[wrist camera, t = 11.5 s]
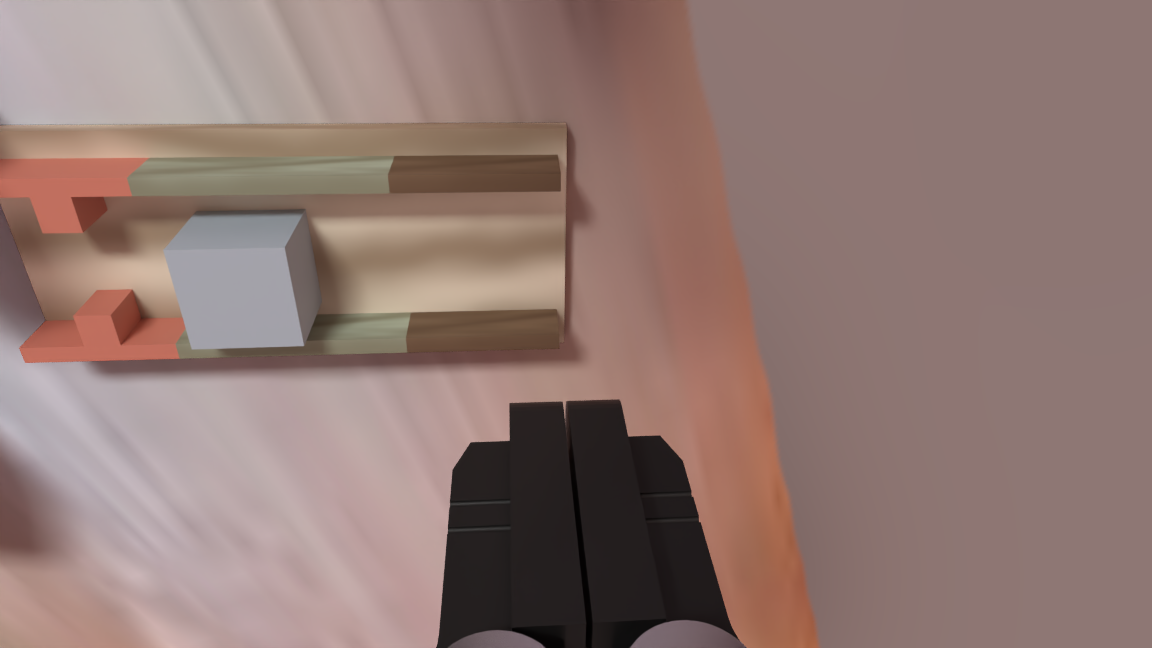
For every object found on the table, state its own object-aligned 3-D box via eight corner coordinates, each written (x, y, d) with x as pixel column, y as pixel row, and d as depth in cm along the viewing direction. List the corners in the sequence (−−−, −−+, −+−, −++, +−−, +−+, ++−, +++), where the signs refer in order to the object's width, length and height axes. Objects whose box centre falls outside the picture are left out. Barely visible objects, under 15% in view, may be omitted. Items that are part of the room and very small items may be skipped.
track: (-17, 125, 42) (-64, 150, 38) (565, 122, 44) (570, 145, 41) (66, 346, 49) (33, 384, 45) (563, 334, 51) (567, 368, 48)
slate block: (196, 211, 44) (163, 250, 40) (305, 209, 44) (284, 247, 40) (220, 304, 47) (191, 349, 43) (322, 301, 47) (304, 345, 43)
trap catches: (-17, 159, 41) (-52, 179, 39) (149, 157, 42) (126, 177, 40) (51, 334, 47) (25, 362, 45) (196, 331, 48) (179, 358, 45)
